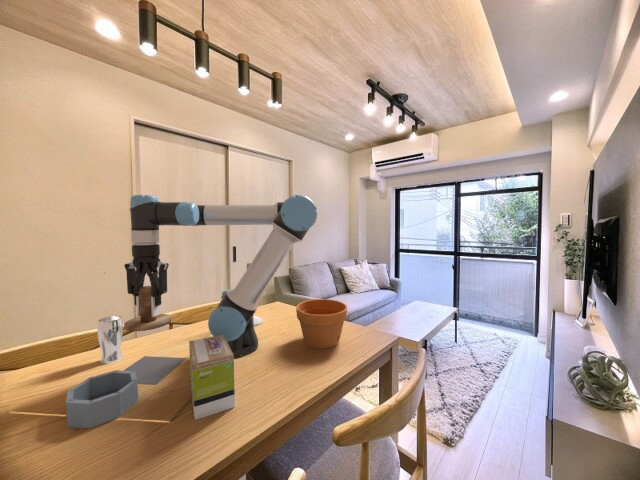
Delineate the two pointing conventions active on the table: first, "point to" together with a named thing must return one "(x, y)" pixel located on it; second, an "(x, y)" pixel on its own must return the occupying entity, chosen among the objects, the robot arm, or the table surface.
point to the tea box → (211, 376)
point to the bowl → (101, 399)
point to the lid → (146, 314)
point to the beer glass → (110, 338)
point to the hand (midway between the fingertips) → (148, 315)
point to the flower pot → (321, 321)
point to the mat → (154, 368)
